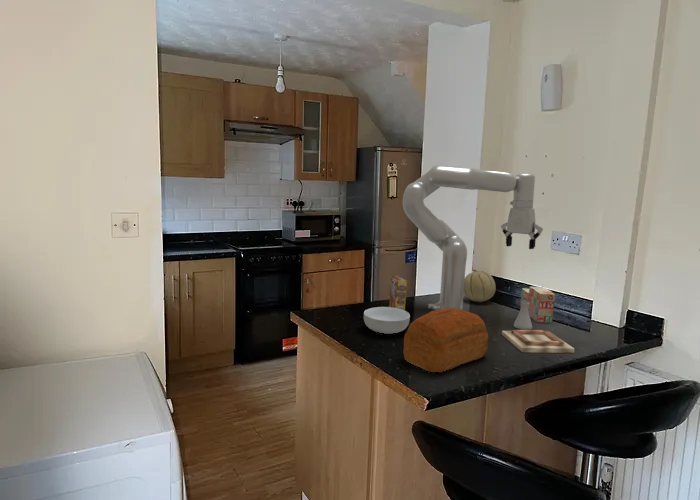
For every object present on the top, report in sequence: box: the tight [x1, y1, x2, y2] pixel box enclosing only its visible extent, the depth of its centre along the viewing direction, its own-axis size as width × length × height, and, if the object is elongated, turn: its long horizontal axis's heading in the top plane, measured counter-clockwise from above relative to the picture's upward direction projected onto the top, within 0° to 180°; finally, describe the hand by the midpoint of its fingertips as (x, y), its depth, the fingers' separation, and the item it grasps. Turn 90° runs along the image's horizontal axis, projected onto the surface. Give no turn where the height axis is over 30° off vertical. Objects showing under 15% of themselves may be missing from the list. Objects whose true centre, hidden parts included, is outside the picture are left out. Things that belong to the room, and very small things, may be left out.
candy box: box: [388, 275, 408, 311], centre depth 200 cm, size 9×4×15 cm, turn 13°
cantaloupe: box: [464, 269, 497, 303], centre depth 225 cm, size 15×15×15 cm
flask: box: [512, 301, 534, 330], centre depth 188 cm, size 7×7×10 cm
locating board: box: [501, 329, 575, 354], centre depth 171 cm, size 18×18×3 cm
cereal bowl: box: [363, 306, 411, 335], centre depth 177 cm, size 17×17×7 cm
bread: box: [402, 308, 489, 373], centre depth 152 cm, size 16×27×16 cm, turn 130°
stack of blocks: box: [519, 286, 556, 324], centre depth 206 cm, size 21×6×12 cm, turn 179°
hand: (520, 247), depth 195 cm, fingers open, 9 cm apart
